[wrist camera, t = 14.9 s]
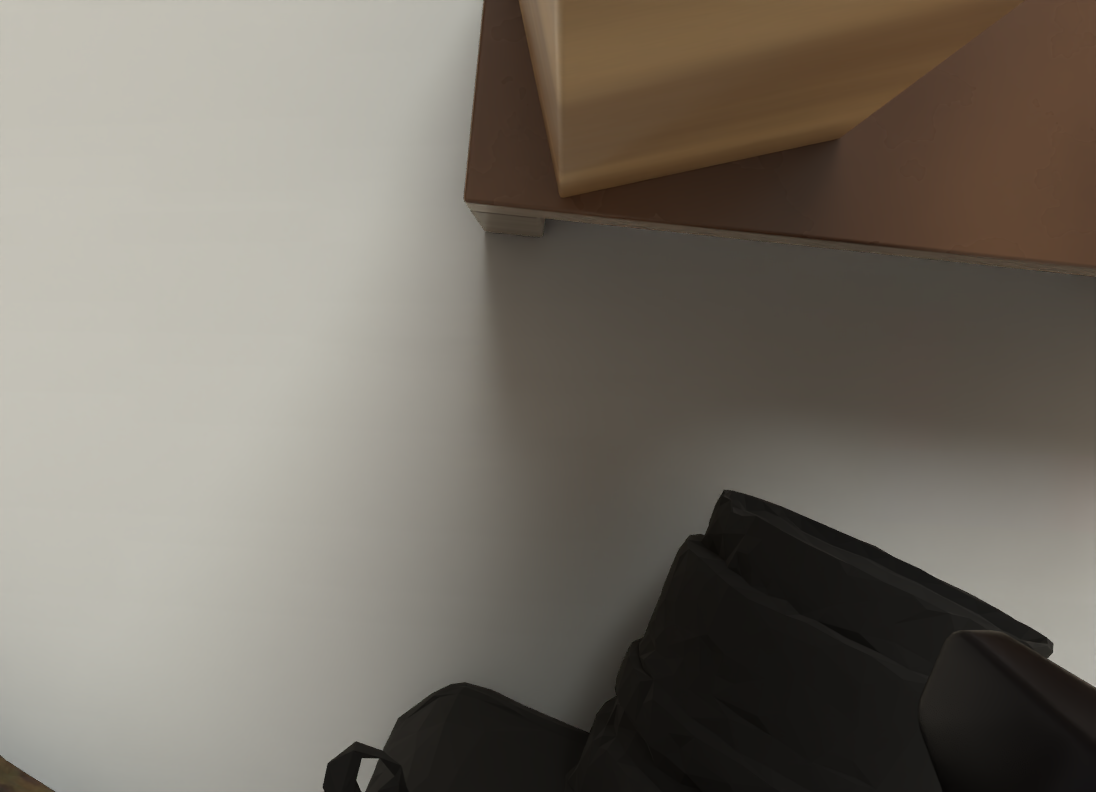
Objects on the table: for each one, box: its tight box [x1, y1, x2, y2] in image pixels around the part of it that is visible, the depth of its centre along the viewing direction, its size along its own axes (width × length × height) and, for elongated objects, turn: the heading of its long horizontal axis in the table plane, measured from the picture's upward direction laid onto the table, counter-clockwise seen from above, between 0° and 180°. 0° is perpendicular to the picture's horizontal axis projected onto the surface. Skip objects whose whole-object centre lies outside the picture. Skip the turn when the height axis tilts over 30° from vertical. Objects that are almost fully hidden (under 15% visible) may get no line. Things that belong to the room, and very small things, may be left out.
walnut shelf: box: [464, 0, 1096, 277], centre depth 17 cm, size 14×6×4 cm, turn 84°
